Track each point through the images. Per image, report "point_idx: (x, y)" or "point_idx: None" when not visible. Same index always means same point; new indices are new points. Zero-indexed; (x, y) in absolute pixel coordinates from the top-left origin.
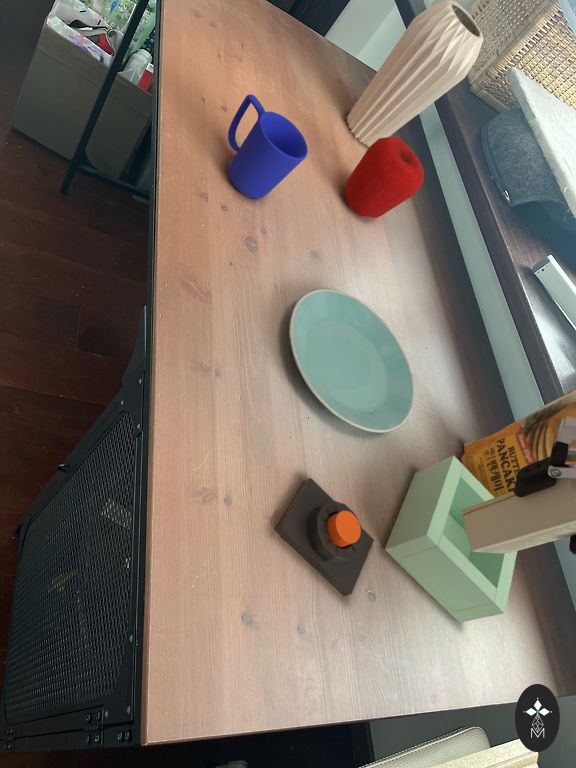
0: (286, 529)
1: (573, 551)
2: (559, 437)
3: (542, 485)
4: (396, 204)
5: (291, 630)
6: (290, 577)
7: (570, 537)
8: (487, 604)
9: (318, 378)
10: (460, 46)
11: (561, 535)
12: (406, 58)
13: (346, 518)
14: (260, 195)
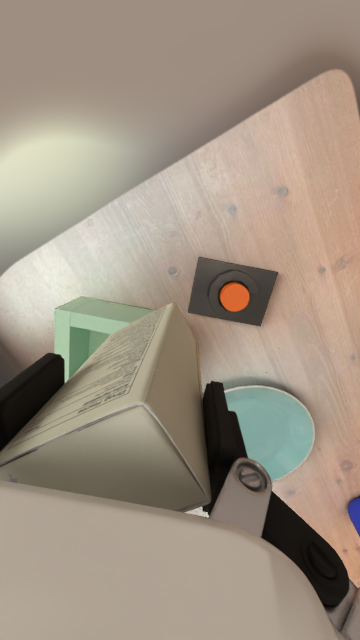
0: (273, 273)
1: (55, 355)
2: None
3: (227, 424)
4: None
5: (240, 204)
6: (252, 244)
7: (64, 380)
8: (74, 309)
9: (271, 405)
10: None
11: (89, 370)
12: None
13: (238, 303)
14: (357, 505)
